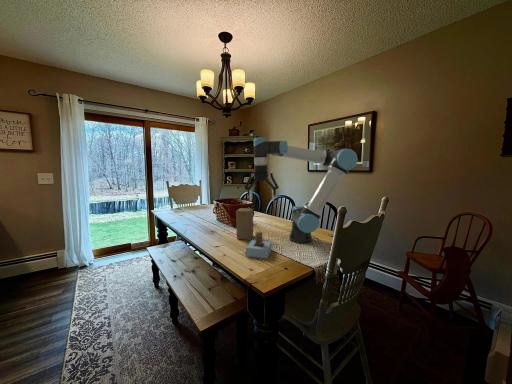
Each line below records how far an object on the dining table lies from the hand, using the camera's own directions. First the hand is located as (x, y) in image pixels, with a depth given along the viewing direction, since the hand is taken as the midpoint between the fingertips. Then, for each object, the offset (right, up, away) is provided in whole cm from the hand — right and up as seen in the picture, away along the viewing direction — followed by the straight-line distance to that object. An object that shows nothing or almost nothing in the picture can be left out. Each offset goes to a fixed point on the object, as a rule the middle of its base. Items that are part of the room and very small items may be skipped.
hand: (261, 200), depth 123 cm
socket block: (-2, -30, -4) cm, 30 cm away
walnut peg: (-2, -30, -4) cm, 30 cm away
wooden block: (-11, -27, +22) cm, 37 cm away
